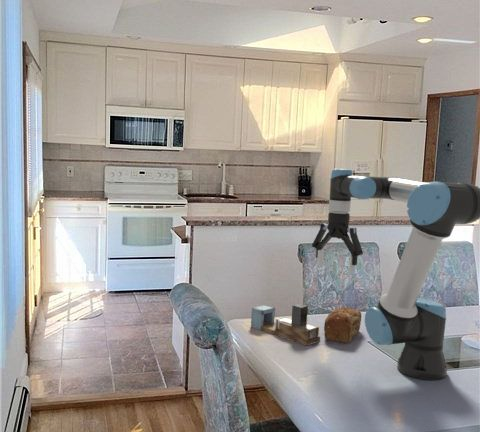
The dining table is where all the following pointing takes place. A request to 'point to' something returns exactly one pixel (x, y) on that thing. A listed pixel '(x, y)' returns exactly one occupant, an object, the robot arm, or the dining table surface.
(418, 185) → the robot arm
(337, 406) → the dining table surface
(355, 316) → the bread
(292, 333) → the rail
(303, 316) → the grey and white block
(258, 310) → the socket
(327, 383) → the dining table surface
